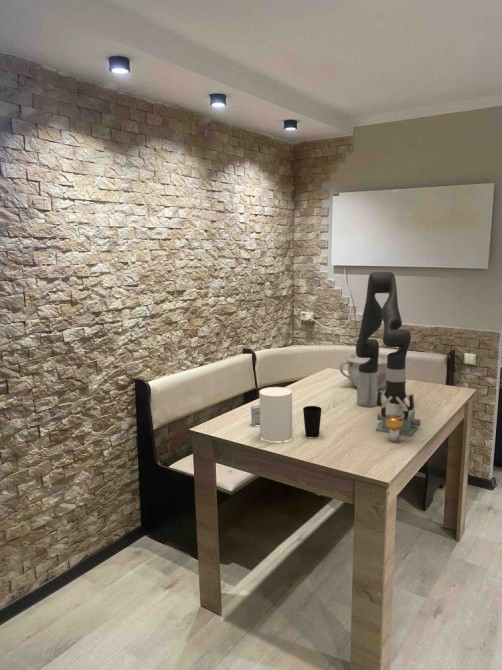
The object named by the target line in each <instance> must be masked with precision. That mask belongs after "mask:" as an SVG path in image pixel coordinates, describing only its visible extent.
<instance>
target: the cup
mask: <svg viewBox="0 0 502 670" xmlns="http://www.w3.org/2000/svg"><path fill="white" fill-rule="evenodd" d="M302 412H303V423H304V424H303V425H304V431H305V437H306V436H308V437H318V436H319V437H320V430H321V429H320V428H321V418H322V417H321V416H322V407H320V406H317V405H308V406H304V407H303V408H302ZM308 437H307V438H308ZM319 437H318V438H319Z"/></svg>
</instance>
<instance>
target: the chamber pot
mask: <svg viewBox="0 0 502 670" xmlns="http://www.w3.org/2000/svg"><path fill="white" fill-rule="evenodd" d="M387 356H388V354H386V353H385V354H384V353H379V356H378V377H377V391H379V390H381V389H384V388H386V371H387ZM369 360H370V358H359V357H358V356H357V355H356V353H353V354H350V355H347V356H346V357H345V359H344V360H342V361H341V362H340V364H339V369H338V370H339V372H340V374H341V375H342V376H343V377H345V378H347V379H348V380H349V381H350V383H351V384H353V386H354V387H356V388H357V386H358V384H359V365H361V364H363V363H365V362H367V361H369ZM345 364H346V365H347V374H348V375H347V374H346V373H345V372H344V370H343V367H344V365H345Z"/></svg>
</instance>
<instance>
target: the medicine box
mask: <svg viewBox="0 0 502 670" xmlns="http://www.w3.org/2000/svg"><path fill="white" fill-rule="evenodd" d="M250 410H251V411H250V412H251V413H250V416H251V417H250V418H251V424H252V423H253V424H254V425H260V404H259V405H251V406H250Z"/></svg>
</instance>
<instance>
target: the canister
mask: <svg viewBox="0 0 502 670" xmlns="http://www.w3.org/2000/svg"><path fill="white" fill-rule="evenodd" d="M258 393H259V395H258V396H259V405H260V426H259V437H260V436H261V437H262V438H263V439H265V440H269V441H285V440H289V439H291V438H292V439H293V390H292V389H290V388H288V387H281V386H271V387H270V386H269V387H265V388H262V389H260V390H259V392H258Z"/></svg>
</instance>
